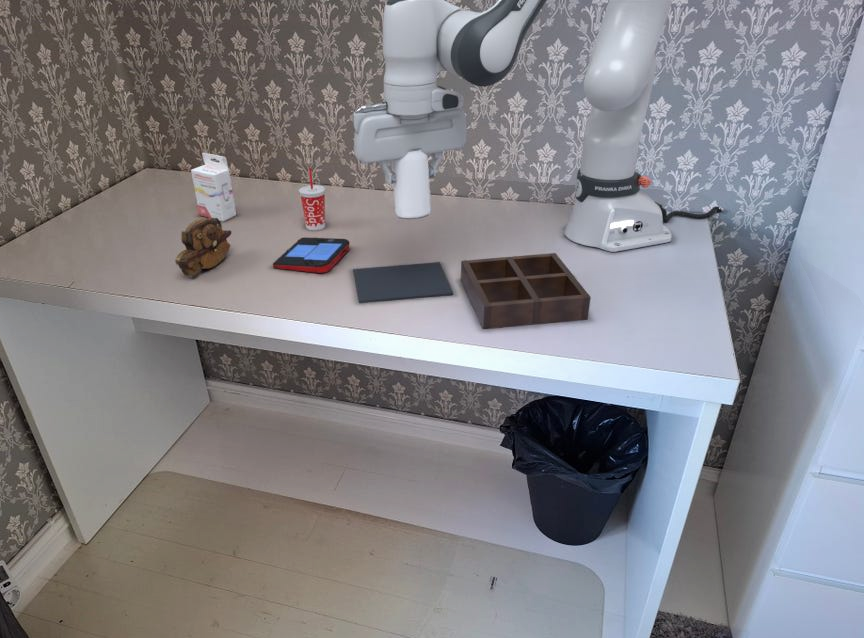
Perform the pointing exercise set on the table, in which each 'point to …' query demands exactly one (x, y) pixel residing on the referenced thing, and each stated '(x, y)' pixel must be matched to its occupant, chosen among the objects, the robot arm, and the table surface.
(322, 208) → the beverage cup
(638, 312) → the table surface
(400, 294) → the mat
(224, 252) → the wooden carving
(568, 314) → the crate
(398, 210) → the can
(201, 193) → the ink cartridge box
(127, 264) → the table surface
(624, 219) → the robot arm
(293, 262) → the game console
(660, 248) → the table surface
